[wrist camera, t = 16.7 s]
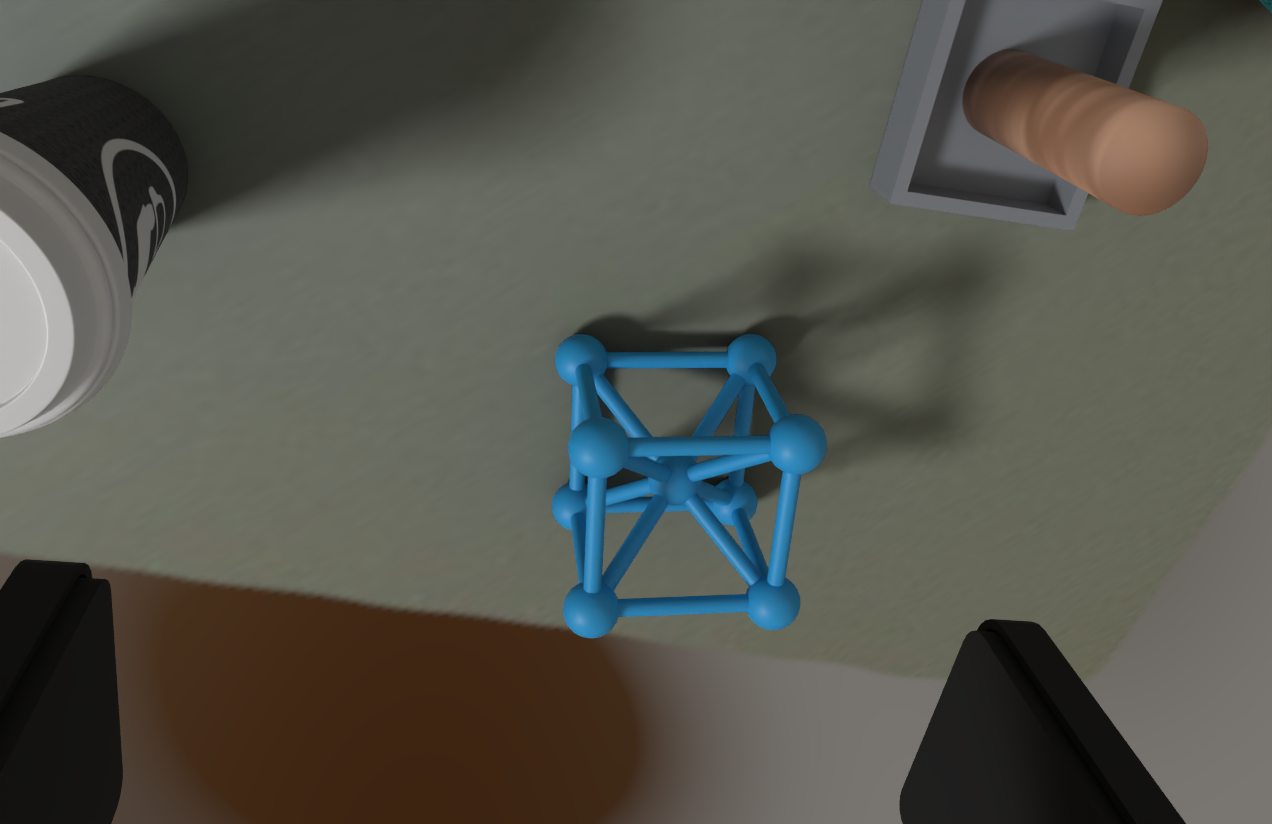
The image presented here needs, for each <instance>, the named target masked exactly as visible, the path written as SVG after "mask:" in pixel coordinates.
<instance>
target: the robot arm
mask: <svg viewBox="0 0 1272 824" xmlns="http://www.w3.org/2000/svg"><path fill="white" fill-rule="evenodd" d="M113 629H114V628H113V613H112V598H111V587H110V583H109V581H108V580H106V579H93V578H92V573H91V570H90V567H89V565H87V564H85V563H75V562H58V561H42V560H23V561H21V562H20V563H19V564H18V565H17V566H16V567H15V568H14V570H13V571H12V573H11V575H10V576H9V577H8V579H7V581H6V582H5V584H4V585H3V587H2V588H1V590H0V824H111V822H112V820H113V817H114V814H115V812H116V809H117V806H118V802H119V798H120V793H121V788H122V778H123V767H122V752H121V736H120V721H119V705H118V690H117V675H116V659H115V644H114V630H113ZM900 814H901V820H902V822H903V824H1186V823H1185V822H1184V820H1183V819H1182V818H1181V816H1180V815H1179V813H1178V812H1177V811H1176V809H1175V808H1174V807H1173V805H1172V804H1171V803H1170V801H1169V800H1168V798H1167V797H1166V796H1165V794H1164V793H1163V792H1162V790H1161V789H1160V788H1159V786H1158V785H1157V783H1156V782H1155V781H1154V779H1153V778H1152V777H1151V775H1150V774H1149V772H1148V771H1147V770H1146V768H1145V767H1144V766H1143V764H1142V763H1141V761H1140V760H1139V759H1138V757H1137V756H1136V755H1135V753H1134V752H1133V750H1132V749H1131V748H1130V746H1129V745H1128V744H1127V742H1126V741H1125V740H1124V738H1123V737H1122V735H1121V734H1120V733H1119V731H1118V730H1117V729H1116V727H1115V726H1114V724H1113V723H1112V722H1111V720H1110V719H1109V718H1108V716H1107V715H1106V714H1105V712H1104V711H1103V709H1102V708H1101V707H1100V705H1099V704H1098V703H1097V701H1096V700H1095V698H1094V697H1093V696H1092V694H1091V693H1090V692H1089V690H1088V689H1087V687H1086V686H1085V685H1084V683H1083V682H1082V681H1081V679H1080V678H1079V677H1078V675H1077V674H1076V672H1075V671H1074V670H1073V668H1072V667H1071V666H1070V664H1069V663H1068V661H1067V660H1066V659H1065V657H1064V656H1063V655H1062V653H1061V652H1060V650H1059V649H1058V648H1057V646H1056V645H1055V644H1054V642H1053V641H1052V640H1051V638H1050V637H1049V635H1048V634H1047V633H1046V631H1045V630H1044V629H1043V628H1042V627H1041V626H1040V625H1039V624H1037V623H1034V622H1028V621H1012V620H996V619H990V620H985V621H984V622H983V623H982V624H981V625H980V626H979V628H978V629H977V631H971V632H970V633H968V634H967V635H966V637H965V639H964V641H963V643H962V646H961V648H960V650H959V653H958V655H957V658H956V660H955V663H954V665H953V667H952V670H951V672H950V675H949V677H948V679H947V682H946V684H945V687H944V689H943V691H942V694H941V696H940V699H939V701H938V704H937V706H936V709H935V711H934V713H933V716H932V718H931V720H930V723H929V726H928V728H927V730H926V733H925V735H924V737H923V740H922V742H921V745H920V747H919V750H918V752H917V754H916V757H915V759H914V761H913V764H912V766H911V769H910V771H909V774H908V776H907V778H906V781H905V783H904V786H903V788H902V791H901V795H900Z"/></svg>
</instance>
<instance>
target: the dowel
mask: <svg viewBox="0 0 1272 824" xmlns="http://www.w3.org/2000/svg"><path fill="white" fill-rule="evenodd" d="M962 105H963V111H964V115H965V117H966V119H967V121H968V123H969V124H970V125H971V126H972V128H974V129H975V130H976V131H978V132H979V133H981V134H983V135H985V136H986V137H988V138H990V139H992V140H994V141H995V142H997V143H999V144H1001V145H1003V146H1004V147H1006V148H1008V149H1010V150H1012V151H1013V152H1015V153H1017V154H1019V155H1021V156H1022V157H1024V158H1026V159H1028V160H1030V161H1031V162H1033V163H1035V164H1037V165H1039V166H1040V167H1042V168H1044V169H1046V170H1048V171H1049V172H1051V173H1053V174H1055V175H1057V176H1058V177H1060V178H1062V179H1064V180H1066V181H1067V182H1069V183H1071V184H1073V185H1075V186H1076V187H1078V188H1080V189H1082V190H1084V191H1085V192H1087V193H1089V194H1091V195H1093V196H1094V197H1096V198H1098V199H1100V200H1102V201H1103V202H1105V203H1107V204H1109V205H1111V206H1112V207H1114V208H1116V209H1118V210H1120V211H1121V212H1124V213H1126V214H1130V215H1137V216H1143V215H1151V214H1155V213H1158V212H1161V211H1163V210H1165V209H1167V208H1169V207H1171V206H1172V205H1174V204H1175V203H1177V202H1178V201H1179V200H1181V199H1182V198H1183V197H1184V196H1185V195H1186V194H1187V193H1188V192H1189V191H1190V190H1191V188H1192V187H1193V186H1194V184H1195V183H1196V181H1197V180H1198V178H1199V177H1200V175H1201V173H1202V171H1203V168H1204V165H1205V162H1206V158H1207V153H1208V139H1207V134H1206V130H1205V128H1204V126H1203V124H1202V122H1201V121H1200V119H1199V118H1198V117H1197V116H1196V115H1195V114H1193V113H1192V112H1190V111H1189V110H1186V109H1184V108H1181V107H1179V106H1176V105H1173V104H1170V103H1167V102H1165V101H1162V100H1159V99H1156V98H1153V97H1151V96H1148V95H1145V94H1142V93H1139V92H1137V91H1134V90H1131V89H1128V88H1125V87H1123V86H1120V85H1117V84H1114V83H1111V82H1109V81H1106V80H1103V79H1100V78H1097V77H1094V76H1092V75H1089V74H1086V73H1083V72H1080V71H1078V70H1075V69H1072V68H1069V67H1066V66H1064V65H1061V64H1058V63H1055V62H1052V61H1050V60H1047V59H1044V58H1041V57H1038V56H1036V55H1033V54H1030V53H1027V52H1024V51H1021V50H1016V49H1006V50H1001V51H998V52H996V53H993V54H991V55H990V56H988V57H986V58H985V59H984V60H982V61H981V62H980V63H979V64H978V65H977V66H976V67H975V69H974V70H973V71H972V73H971V74H970V76H969V78H968V80H967V82H966V84H965V87H964V91H963V98H962Z"/></svg>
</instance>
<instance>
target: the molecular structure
mask: <svg viewBox="0 0 1272 824" xmlns="http://www.w3.org/2000/svg"><path fill="white" fill-rule="evenodd" d="M555 363H556V369H557V371H558V373H559V375H560V376H561V377H562V378H563V380H565V381H566V382H567V383H569V384H571V385H572V416H571V436H570V438H569V443H568V452H569V457H570V480H569V483H567V484H565V485H563V486H562V487H561V488H560V489H558V491H557V492H556V494H555V496H554V498H553V501H552V511H553V515H554V517H555V519H556V521H557V522H558V523H559V524H560V525H561V526H562V527H564V528H566V529H569V530H572V535H573V542H574V550H575V557H576V565H577V572H578V580H579V584H577V585H576V586H575V587H573V588H572V589H571V590H570V592H569V593H568V594H567V596H566V598H565V601H564V606H563V613H564V619H565V621H566V623H567V625H568V627H569V628H570V629H571V630H572V631H573V632H574V633H576V634H578V635H580V636H582V637H587V638H596V637H600V636H603V635H605V634H606V633H608V632H609V631H610V630H612V628H613V627H614V625H615V624H616V623H617V620H618V617H633V616H657V615H681V614H706V613H730V612H747V613H748V615H749V617H750V619H751V620H752V621H753V622H754V623H755V624H756V625H758V626H760V627H762V628H764V629H769V630H779V629H782V628H784V627H786V626H788V625H790V624H791V623H792V622H793V621H794V620H795V618H796V617H797V615H798V612H799V609H800V596H799V593H798V590H797V588H796V587H795V586H794V584H793V583H792V582H791V581H790V580H788V579H787V578H785V575H786V569H787V563H788V556H789V550H790V543H791V537H792V531H793V524H794V518H795V511H796V505H797V499H798V492H799V486H800V479H801V474H804V473H807V472H810V471H812V470H813V469H814V468H816V467H817V466H818V465H819V464H820V463H821V461H822V460H823V458H824V456H825V453H826V449H827V439H826V436H825V433H824V431H823V429H822V428H821V426H820V425H819V424H818V423H817V422H816V421H815V420H813V419H812V418H810V417H807V416H804V415H801V414H797V415H791V414H790V413H789V411H788V409H787V407H786V405H785V404H784V402H783V400H782V398H781V396H780V395H779V393H778V391H777V389H776V387H775V386H774V384H773V382H772V380H771V378H770V376H771V375H772V373H773V372H774V370H775V366H776V363H777V361H776V352H775V349H774V347H773V346H772V344H771V343H770V342H769V341H768V340H767V339H765V338H764V337H762V336H760V335H756V334H745V335H742V336H740V337H738V338H736V339H735V340H734V341H732V343H731V344H730V345H729V347H728V348H727V351H726V352H606V350H605V348H604V346H603V345H602V344H601V342H600V341H599V340H597V339H596V338H594V337H593V336H590V335H586V334H576V335H573V336H571V337H569V338H567V339H565V340H564V341H563V342H562V343H561V344H560V345H559V348H558V350H557V352H556V356H555ZM607 368H727V371H728V373H729V374H730V375H731V376H730V378H729V379H728V381H727V382H726V384H725V385H724V387H723V389H722V390H721V392H720V393H719V395H718V396H717V398H716V400H715V401H714V403H713V404H712V406H711V407H710V409H709V410H708V412H707V414H706V415H705V417H704V418H703V420H702V421H701V423H700V424H699V426H698V428H697V429H696V431H695V432H694V434H693V435H692V437H652V435H651V434H650V433H649V432H648V430H647V429H646V428H645V427H644V425H643V424H642V423H641V422H640V420H639V419H638V418H637V417H636V415H635V414H634V413H633V411H632V410H631V409H630V408H629V406H628V405H627V404H626V403H625V401H624V400H623V399H622V398H621V396H620V395H619V394H618V393H617V391H616V390H615V389H614V388H613V386H612V385H611V384H610V382H609V381H608V380H607V379H606V377H605V376H604V373H605V371H606V369H607ZM755 386H756V388H757V390H758V392H759V394H760V396H761V398H762V400H763V402H764V404H765V406H766V408H767V409H768V411H769V413H770V415H771V417H772V419H773V421H774V425H773V426H772V427H771V429H770V430H769V432H768V435H763V436H749V434H750V426H751V418H752V410H753V402H754V394H755ZM597 394H598V395H599V397H600V398H601V399H602V400H603V402H604V403H605V404H606V405H607V407H608V408H609V409H610V410H611V412H612V413H613V414H614V416H615V417H616V418H617V419H618V421H619V422H620V423H621V424H622V426H623V427H624V428H625V429H626V431H627V432H628V433H629V435H630V436H631V437H632V438H628V436H627V434H626V432H625V431H624V429H623V428H622V427H621V426H620V425H619V424H618V423H617V422H615V421H613V420H611V419H608V418H605V417H602V414H601V409H600V405H599V400H598V396H597ZM737 395H738V403H737V411H736V420H735V429H734V436H712V435H713V433H714V432H715V430H716V429H717V427H718V425H719V424H720V422H721V421H722V419H723V417H724V416H725V414H726V413H727V411H728V410H729V408H730V406H731V405H732V403H733V402H734V400H735V399H736V397H737ZM702 455H724V456H720V457H717V458H713V459H710V460H707V461H703V462H700V463H696V460H697V458H698V457H699V456H702ZM647 457H648V458H647ZM769 461H772V462H773V464H774V465H775V466H776V467H777V468H779V469H780V470H782V471H783V473H782V480H781V487H780V494H779V501H778V507H777V514H776V521H775V528H774V535H773V542H772V549H771V556H770V562H769V569H768V567H767V564H766V562H765V559H764V557H763V554H762V552H761V549H760V547H759V544H758V542H757V539H756V537H755V534H754V532H753V529H752V527H751V524H750V522H749V520H750V519H751V518H752V517H753V515H754V514H755V512H756V508H757V496H756V493H755V491H754V489H753V488H752V487H751V486H750V485H749V484H748V483H747V482H745V481H744V474H745V468H747V467H751V466H755V465H758V464H762V463H766V462H769ZM622 468H626V469H628V470H631V471H634V472H636V473H639V474H641V475H644V476H646V477H648V478H644V479H641V480H637V481H634V482H630V483H627V484H624V485H620V486H617V487H613V488H610V489H606V488H607V477H610V476H613V475H614V474H616V473H617V472H618V471H620V470H621V469H622ZM725 473H729V479H726V480H723V481H721V482H720V483H719V484H717V485H716V486H713V485H711V484H708V483H706V482H704V481H702V480H703V479H707V478H710V477H714V476H718V475H721V474H725ZM585 476H588V485H587V484H585ZM652 493H653V495H654V496H653V497H641V496H644V495H648V494H652ZM664 511H690V512H691V513H692V514H693V516H694V517H695V518H696V519H697V521H698V522H699V523H700V525H701V526H702V527H703V528H704V530H705V531H706V532H707V533H708V535H709V536H710V537H711V539H712V540H713V541H714V542H715V544H716V545H717V546H718V547H719V549H720V550H721V551H722V552H723V554H724V555H725V556H726V558H727V559H728V560H729V561H730V563H731V564H732V565H733V566H734V568H735V569H736V570H737V571H738V573H739V574H740V575H741V577H742V578H743V579H744V580H745V582H746V583H747V584H748V585H749V588H748V589H747V592H746V594H739V595H713V596H687V597H661V598H635V599H618V598H617V596H616V594H615V592H614V589H615V588H616V586H617V585H618V583H619V581H620V580H621V578H622V577H623V575H624V574H625V572H626V570H627V569H628V567H629V566H630V564H631V563H632V561H633V559H634V558H635V556H636V555H637V553H638V551H639V550H640V548H641V547H642V545H643V544H644V542H645V540H646V539H647V537H648V536H649V534H650V533H651V531H652V529H653V528H654V526H655V525H656V523H657V522H658V520H659V518H660V517H661V515H662V514H663V512H664ZM624 512H643V513H642V515H641V516H640V518H639V519H638V521H637V523H636V524H635V526H634V527H633V529H632V530H631V532H630V533H629V535H628V537H627V538H626V540H625V541H624V543H623V544H622V546H621V547H620V549H619V551H618V552H617V554H616V555H615V557H614V558H613V560H612V562H611V563H610V565H609V566H608V568H607V569H606V571H605V572H604V574H603V576H602V566H603V546H604V527H605V513H624ZM721 523H723V524H725V525H729V526H735V529H736V531H737V534H738V537H739V539H740V542H741V544H742V547H743V550H744V552H745V553H744V552H743V550H742V549H741V548H740V546H739V545H738V544H737V543H736V541H735V540H734V539H733V538H732V536H731V535H730V534H729V533H728V531H727V530H726V529H725V528H724V526H723V525H722V524H721Z"/></svg>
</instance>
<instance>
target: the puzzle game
mask: <svg viewBox="0 0 1272 824" xmlns="http://www.w3.org/2000/svg"><path fill="white" fill-rule="evenodd" d="M1259 1H1260V2H1261V3H1262V4H1263V5H1264V6H1265V7H1266V9H1267V10H1268V11H1269V12H1270V13H1271V14H1272V0H1259Z"/></svg>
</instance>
